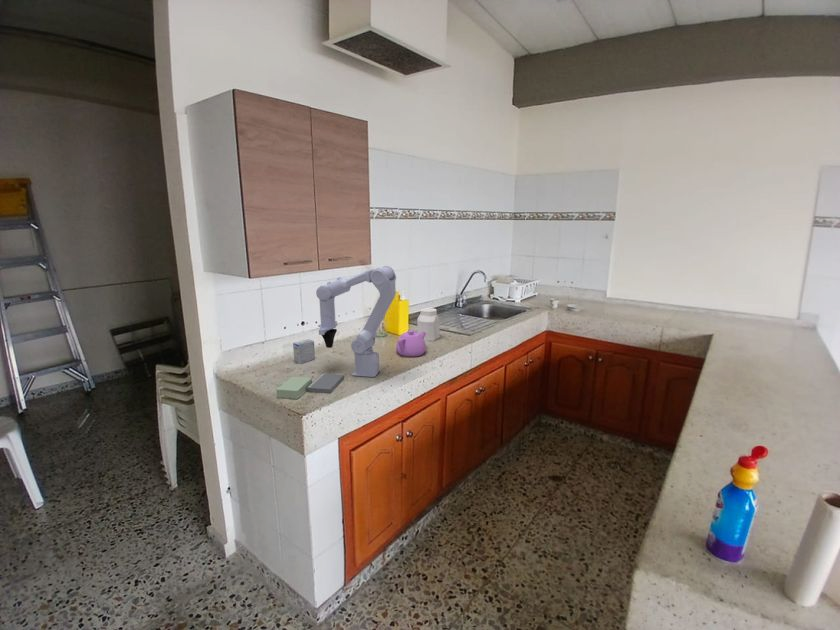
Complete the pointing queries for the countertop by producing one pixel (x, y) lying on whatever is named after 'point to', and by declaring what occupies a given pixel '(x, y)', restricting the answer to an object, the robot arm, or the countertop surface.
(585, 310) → the countertop surface
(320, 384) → the ticket body
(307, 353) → the medicine box
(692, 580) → the countertop surface
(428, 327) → the jar
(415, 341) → the teapot
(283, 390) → the thick sage green slab
